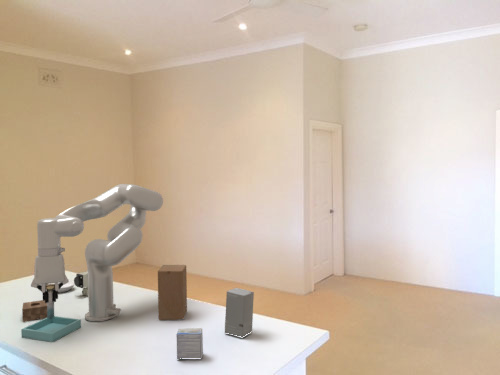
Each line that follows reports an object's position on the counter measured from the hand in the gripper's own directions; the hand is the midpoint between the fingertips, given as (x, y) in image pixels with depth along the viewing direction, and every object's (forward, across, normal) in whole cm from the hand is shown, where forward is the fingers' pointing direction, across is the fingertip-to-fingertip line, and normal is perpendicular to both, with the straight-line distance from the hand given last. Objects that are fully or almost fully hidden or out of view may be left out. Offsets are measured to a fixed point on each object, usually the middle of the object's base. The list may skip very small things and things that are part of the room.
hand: (50, 301), depth 151 cm
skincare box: (+11, -61, +34) cm, 71 cm away
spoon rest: (+12, -3, -60) cm, 62 cm away
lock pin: (+6, 0, 0) cm, 6 cm away
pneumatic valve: (+12, -17, -42) cm, 47 cm away
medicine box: (+12, -39, +43) cm, 59 cm away
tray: (+12, 0, 0) cm, 12 cm away
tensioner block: (+12, +5, -21) cm, 25 cm away
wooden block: (+12, -45, +5) cm, 47 cm away
